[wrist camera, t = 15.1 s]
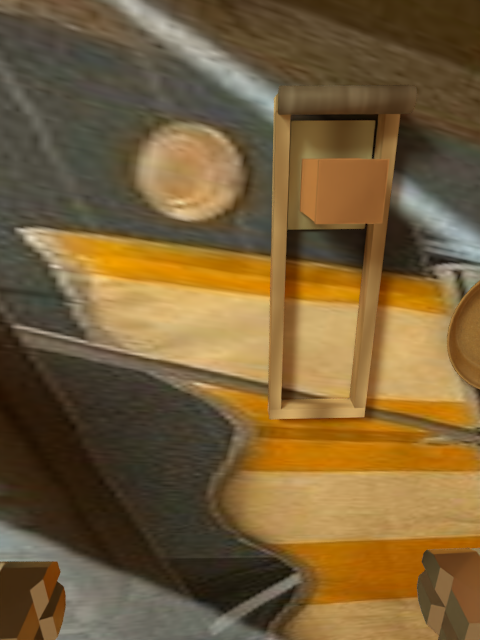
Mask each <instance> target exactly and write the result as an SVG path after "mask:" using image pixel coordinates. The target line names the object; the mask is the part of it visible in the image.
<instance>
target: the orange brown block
mask: <svg viewBox="0 0 480 640" xmlns="http://www.w3.org/2000/svg"><path fill="white" fill-rule="evenodd" d="M389 160H390V159H360V158H323V159H302V166H301V189H300V212H303V213H304V214H305V215H306V216H308V217H309V218H310V219H311V220H313V221H314V223H315V224H374V223H382V222H383V213H384V204H385V195H386V186H387V178H388V169H389Z"/></svg>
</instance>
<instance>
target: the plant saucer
mask: <svg viewBox="0 0 480 640" xmlns="http://www.w3.org/2000/svg"><path fill="white" fill-rule="evenodd" d="M447 349H448V355H449V358H450V361H451V363H452V365H453V367H454V369H455V371H456V372H457V373H458V375H459V376H460V377H461V378H462V379H463V380H465V381H466V382H467V383H468V384H470V385H471V386H473V387H475V388H478V389H480V281H478V282H477V283H476V284H475V285H474V286H473V287H472V288H471V289H470V290H469V291H468V292H467V293H466V294H465V296H464V297H463V298H462V300H461V301H460V303H459V304H458V306H457V308H456V310H455V312H454V314H453V316H452V318H451V321H450V325H449V329H448V334H447Z"/></svg>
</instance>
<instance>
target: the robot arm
mask: <svg viewBox="0 0 480 640" xmlns="http://www.w3.org/2000/svg"><path fill="white" fill-rule="evenodd" d="M422 563H423V565H424V567H425V571H424V572H423V573H422V574H420V575H419V578H418V584H417V592H418V601H419V604H420V608H421V611H422V614H423V616H424V619H425V621H426V624H427V625H428V626H429V627H430V628H431V629H432V630H433V631H434V632H435V633H437V634H438V635H439V637H438V640H480V548H472V549H470V548H454V549H432V550H426V551H425V552H424V554H423V558H422ZM59 575H60V569H59V566H58V562H0V640H55V639H56V638H57V637H58V634H59V631H60V628H61V625H62V622H63V617H64V612H65V606H66V602H65V590H64V587H63V586H62V585H61V584H60V583H58V582H57V580H58V577H59Z"/></svg>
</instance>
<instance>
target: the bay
mask: <svg viewBox="0 0 480 640" xmlns="http://www.w3.org/2000/svg"><path fill="white" fill-rule="evenodd" d="M416 100H417V88H416V86H415V85H336V86H279V90H278V94H277V95H276V97H275V98H274V132H273V182H272V233H271V283H270V333H269V383H268V412H269V419H301V418H350V417H364V415H365V407H366V399H367V390H368V382H369V373H370V365H371V356H372V348H373V340H374V331H375V323H376V314H377V306H378V298H379V289H380V281H381V272H382V264H383V256H384V247H385V239H386V230H387V222H388V214H389V205H390V197H391V188H392V180H393V172H394V163H395V155H396V146H397V138H398V129H399V121H400V114H410V113H412V111H413V109H414V107H415V104H416ZM311 114H378V123H377V133H376V143H375V152H374V159H390V160H389V169H388V178H387V186H386V195H385V204H384V213H383V222H382V223H374V224H367V231H366V241H365V251H364V261H363V270H362V280H361V290H360V300H359V310H358V319H357V329H356V339H355V349H354V359H353V369H352V378H351V388H350V398H332V399H281V390H282V360H283V329H284V299H285V269H286V239H287V230H296V229H365V224H315V223H314V221H313V220H311V219H310V218H309V217H308V216H306V215H305V214H304V213H303V212H300V189H301V166H302V159H323V158H360V159H372V150H373V140H374V130H375V120H348V121H291V129H290V117H291V115H311ZM289 148H290V159H289ZM288 178H289V189H288ZM287 208H288V219H287Z"/></svg>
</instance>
